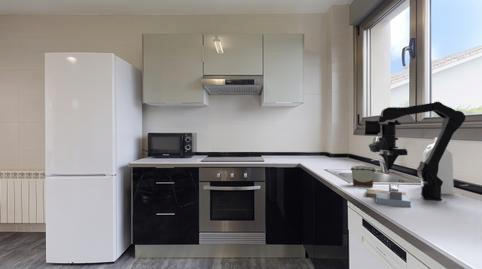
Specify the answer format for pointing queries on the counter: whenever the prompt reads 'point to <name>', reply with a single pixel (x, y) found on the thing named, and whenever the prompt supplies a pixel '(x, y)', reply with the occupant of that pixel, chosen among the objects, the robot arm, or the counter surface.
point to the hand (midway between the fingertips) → (388, 169)
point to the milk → (442, 169)
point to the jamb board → (373, 192)
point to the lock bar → (393, 187)
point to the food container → (363, 176)
